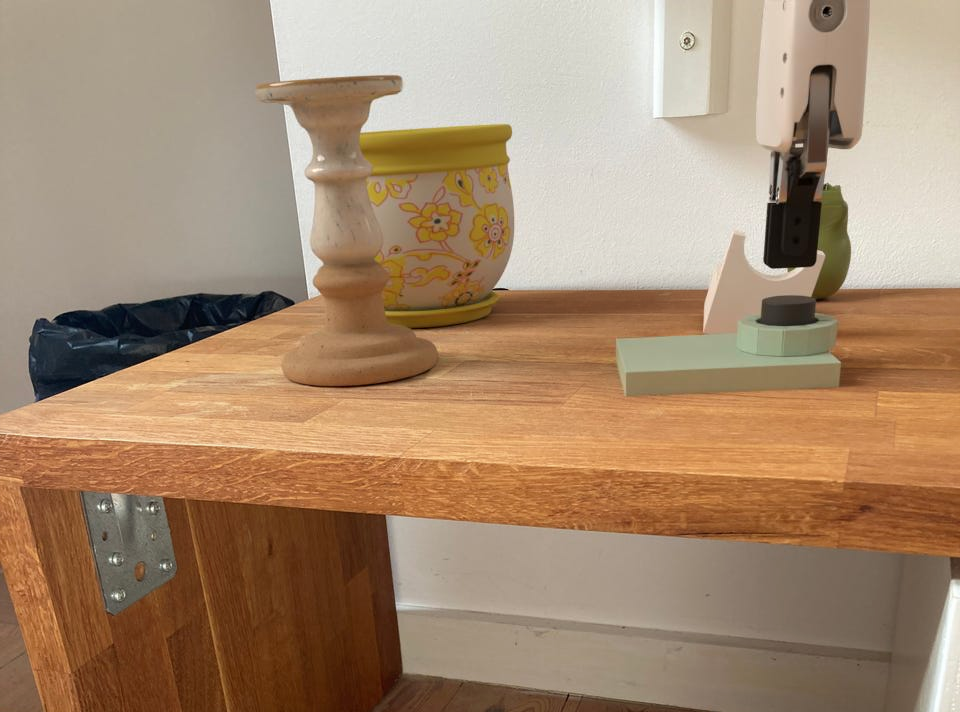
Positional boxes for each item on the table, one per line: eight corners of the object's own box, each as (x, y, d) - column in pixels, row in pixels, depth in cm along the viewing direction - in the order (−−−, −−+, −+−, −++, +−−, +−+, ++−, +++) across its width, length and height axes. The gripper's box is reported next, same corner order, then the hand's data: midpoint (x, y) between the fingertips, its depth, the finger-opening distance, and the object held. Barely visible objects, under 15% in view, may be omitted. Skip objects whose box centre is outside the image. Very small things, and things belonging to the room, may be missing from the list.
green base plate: (812, 352, 77) (816, 304, 76) (850, 387, 68) (856, 333, 66) (615, 361, 79) (615, 314, 77) (625, 397, 69) (625, 344, 67)
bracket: (790, 354, 81) (825, 255, 77) (703, 332, 82) (733, 233, 78) (781, 322, 92) (811, 235, 89) (704, 303, 93) (730, 215, 89)
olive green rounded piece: (849, 294, 98) (860, 180, 93) (842, 304, 94) (854, 184, 89) (789, 294, 100) (797, 182, 95) (780, 303, 96) (788, 186, 91)
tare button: (807, 319, 73) (809, 294, 72) (819, 329, 70) (821, 302, 69) (755, 322, 73) (757, 296, 72) (765, 332, 70) (767, 305, 69)
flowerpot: (469, 338, 90) (456, 129, 82) (299, 331, 97) (273, 139, 90) (547, 302, 104) (542, 121, 97) (394, 299, 111) (378, 130, 104)
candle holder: (468, 357, 83) (450, 72, 73) (371, 393, 74) (336, 74, 65) (352, 347, 89) (322, 84, 80) (250, 379, 80) (203, 87, 71)
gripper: (920, -84, 54) (877, 280, 63) (847, -46, 67) (819, 250, 76) (776, -74, 55) (752, 285, 63) (731, -39, 68) (716, 254, 76)
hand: (789, 265), depth 69 cm, fingers closed
